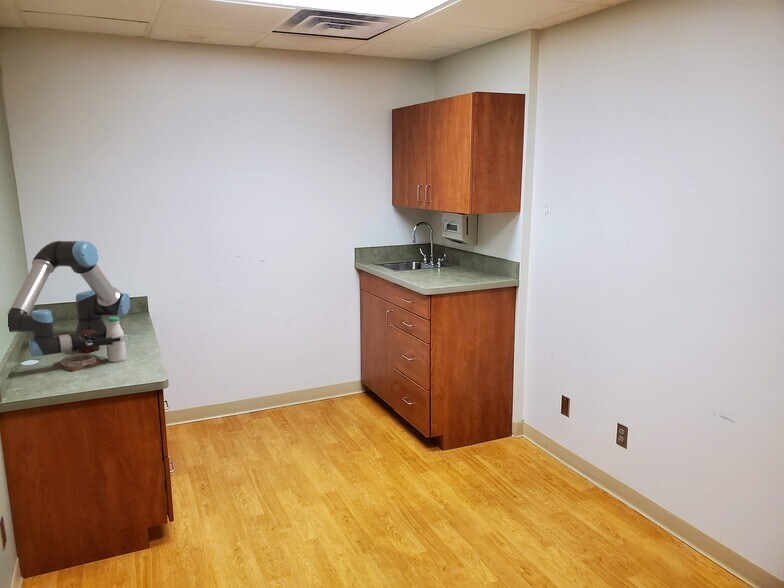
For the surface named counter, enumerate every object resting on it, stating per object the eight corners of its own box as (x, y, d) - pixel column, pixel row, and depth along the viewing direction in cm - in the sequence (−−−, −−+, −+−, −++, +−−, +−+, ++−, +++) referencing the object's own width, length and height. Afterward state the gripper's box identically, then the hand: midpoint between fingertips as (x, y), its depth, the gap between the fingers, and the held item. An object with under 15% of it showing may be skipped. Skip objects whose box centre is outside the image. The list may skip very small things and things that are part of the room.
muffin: (103, 352, 289) (101, 331, 287) (77, 355, 284) (75, 334, 282) (100, 346, 299) (98, 326, 297) (75, 349, 294) (73, 329, 292)
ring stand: (86, 357, 281) (86, 351, 281) (105, 362, 273) (104, 356, 273) (53, 365, 269) (53, 359, 268) (72, 371, 261) (71, 365, 260)
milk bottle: (130, 358, 280) (126, 316, 276) (117, 363, 273) (114, 320, 269) (116, 356, 282) (113, 314, 278) (104, 361, 275) (100, 318, 271)
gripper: (67, 345, 274) (119, 337, 287) (75, 357, 257) (131, 348, 270) (65, 329, 273) (118, 322, 286) (74, 340, 256) (130, 332, 269)
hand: (124, 335), depth 278 cm, fingers open, 9 cm apart
